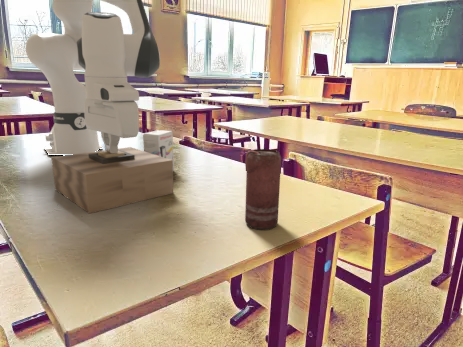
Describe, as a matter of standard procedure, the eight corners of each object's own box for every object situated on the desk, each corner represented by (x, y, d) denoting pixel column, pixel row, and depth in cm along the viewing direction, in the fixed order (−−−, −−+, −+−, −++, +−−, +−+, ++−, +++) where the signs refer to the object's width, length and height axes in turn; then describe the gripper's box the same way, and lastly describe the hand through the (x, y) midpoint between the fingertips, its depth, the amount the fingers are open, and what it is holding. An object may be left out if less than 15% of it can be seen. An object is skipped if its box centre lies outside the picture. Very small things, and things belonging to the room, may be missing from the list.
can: (242, 218, 71) (243, 148, 67) (273, 217, 71) (277, 148, 68) (245, 230, 65) (248, 154, 61) (280, 230, 65) (284, 154, 62)
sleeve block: (55, 190, 86) (51, 153, 83) (132, 175, 99) (130, 143, 97) (89, 213, 72) (85, 169, 69) (173, 193, 85) (172, 155, 83)
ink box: (160, 178, 97) (158, 135, 94) (143, 176, 98) (141, 133, 95) (175, 170, 105) (173, 130, 102) (159, 169, 106) (157, 129, 103)
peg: (101, 189, 85) (97, 152, 83) (118, 185, 88) (116, 149, 86) (109, 193, 82) (106, 155, 80) (127, 190, 85) (124, 152, 83)
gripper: (74, 89, 84) (80, 147, 88) (114, 93, 70) (119, 162, 74) (100, 89, 89) (105, 144, 92) (143, 92, 74) (146, 157, 78)
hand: (111, 152), depth 83 cm, fingers closed, pressing on peg
